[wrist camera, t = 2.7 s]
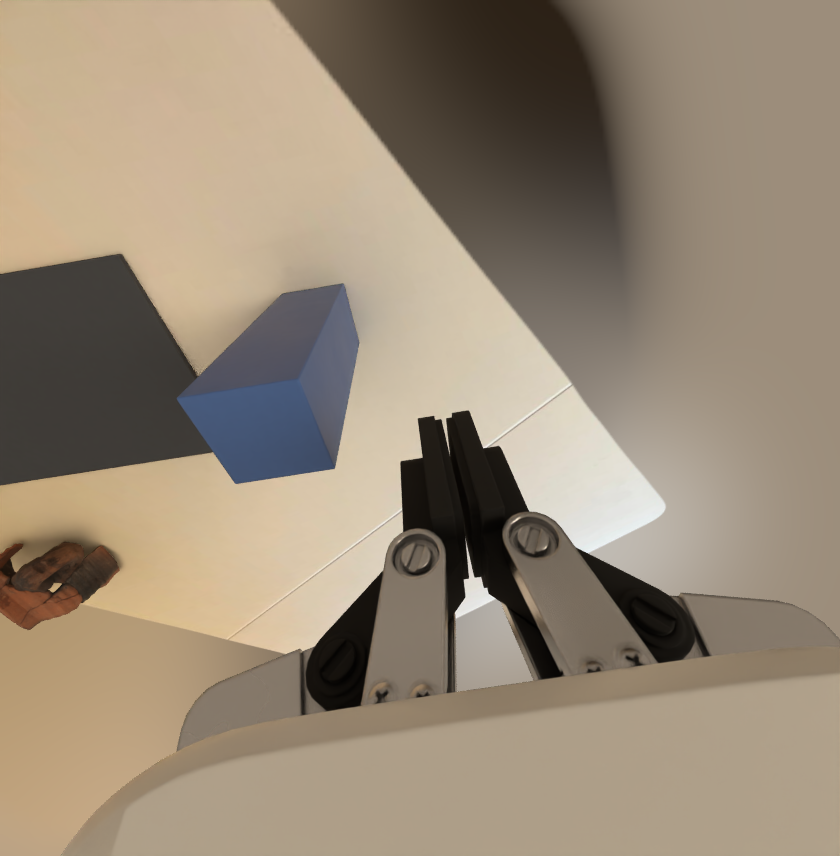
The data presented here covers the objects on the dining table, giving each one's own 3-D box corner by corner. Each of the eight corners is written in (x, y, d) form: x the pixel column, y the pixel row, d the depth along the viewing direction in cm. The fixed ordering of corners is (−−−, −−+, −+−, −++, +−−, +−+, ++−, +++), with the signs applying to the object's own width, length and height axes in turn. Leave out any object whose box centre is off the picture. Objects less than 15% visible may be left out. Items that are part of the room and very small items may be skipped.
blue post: (281, 293, 22) (174, 398, 11) (343, 283, 22) (298, 378, 11) (304, 352, 25) (235, 484, 14) (359, 343, 25) (335, 469, 14)
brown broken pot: (127, 580, 42) (43, 643, 36) (72, 529, 42) (-22, 584, 35) (122, 556, 34) (13, 631, 28) (54, 493, 34) (-71, 555, 28)
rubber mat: (-326, 329, 21) (-337, 331, 21) (121, 253, 20) (117, 254, 20) (-70, 493, 31) (-75, 497, 30) (240, 445, 30) (238, 448, 30)
